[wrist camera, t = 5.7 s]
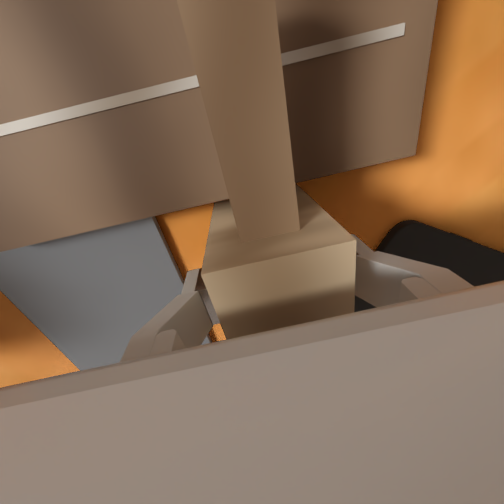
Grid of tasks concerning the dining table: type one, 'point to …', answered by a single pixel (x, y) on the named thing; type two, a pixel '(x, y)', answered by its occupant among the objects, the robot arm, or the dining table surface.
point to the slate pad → (93, 288)
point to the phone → (441, 254)
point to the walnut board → (185, 105)
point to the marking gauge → (260, 182)
